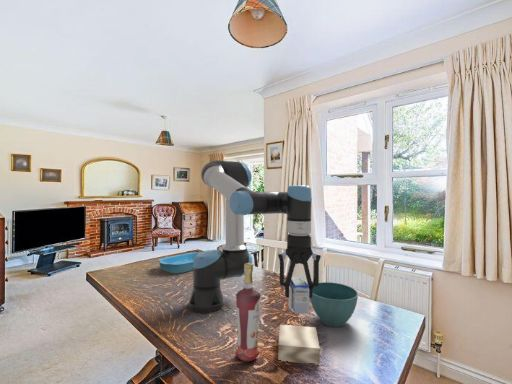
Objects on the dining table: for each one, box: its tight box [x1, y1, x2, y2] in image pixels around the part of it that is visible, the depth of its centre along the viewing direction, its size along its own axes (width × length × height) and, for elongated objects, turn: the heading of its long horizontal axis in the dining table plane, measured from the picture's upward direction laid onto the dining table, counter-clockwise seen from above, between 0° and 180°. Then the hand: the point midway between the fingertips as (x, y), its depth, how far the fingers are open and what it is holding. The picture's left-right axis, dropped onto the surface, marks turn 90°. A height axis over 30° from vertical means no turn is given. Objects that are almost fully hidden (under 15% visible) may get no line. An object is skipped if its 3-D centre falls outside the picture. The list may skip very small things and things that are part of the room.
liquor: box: [235, 262, 261, 363], centre depth 77 cm, size 7×7×28 cm
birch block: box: [277, 324, 321, 365], centre depth 81 cm, size 12×12×5 cm
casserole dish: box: [158, 252, 199, 275], centre depth 171 cm, size 37×22×7 cm, turn 143°
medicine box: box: [290, 276, 310, 315], centre depth 81 cm, size 8×4×9 cm, turn 4°
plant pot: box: [309, 281, 359, 328], centre depth 100 cm, size 18×18×12 cm
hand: (298, 307), depth 81 cm, fingers closed on medicine box, 5 cm apart
